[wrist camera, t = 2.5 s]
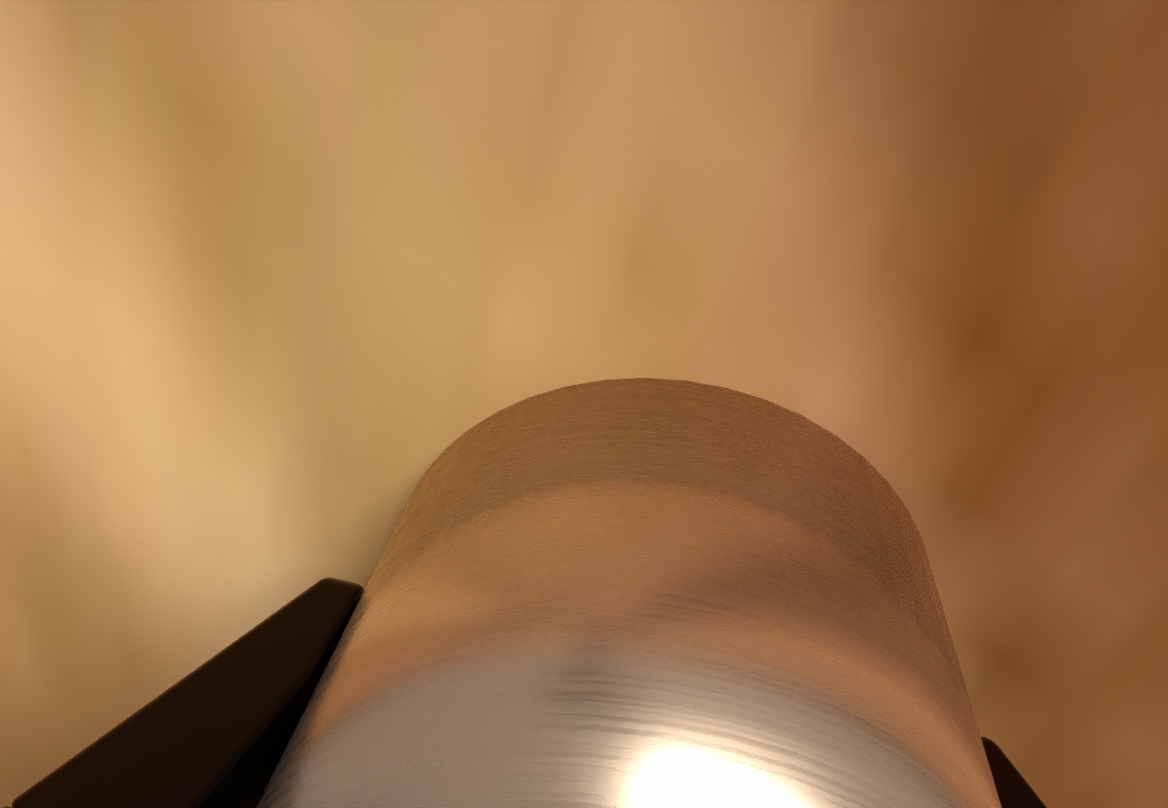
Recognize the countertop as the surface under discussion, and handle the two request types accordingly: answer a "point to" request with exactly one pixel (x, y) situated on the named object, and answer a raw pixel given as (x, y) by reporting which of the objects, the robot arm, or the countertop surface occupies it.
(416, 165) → the countertop surface
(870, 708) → the silver rounded cylinder
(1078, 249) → the countertop surface
